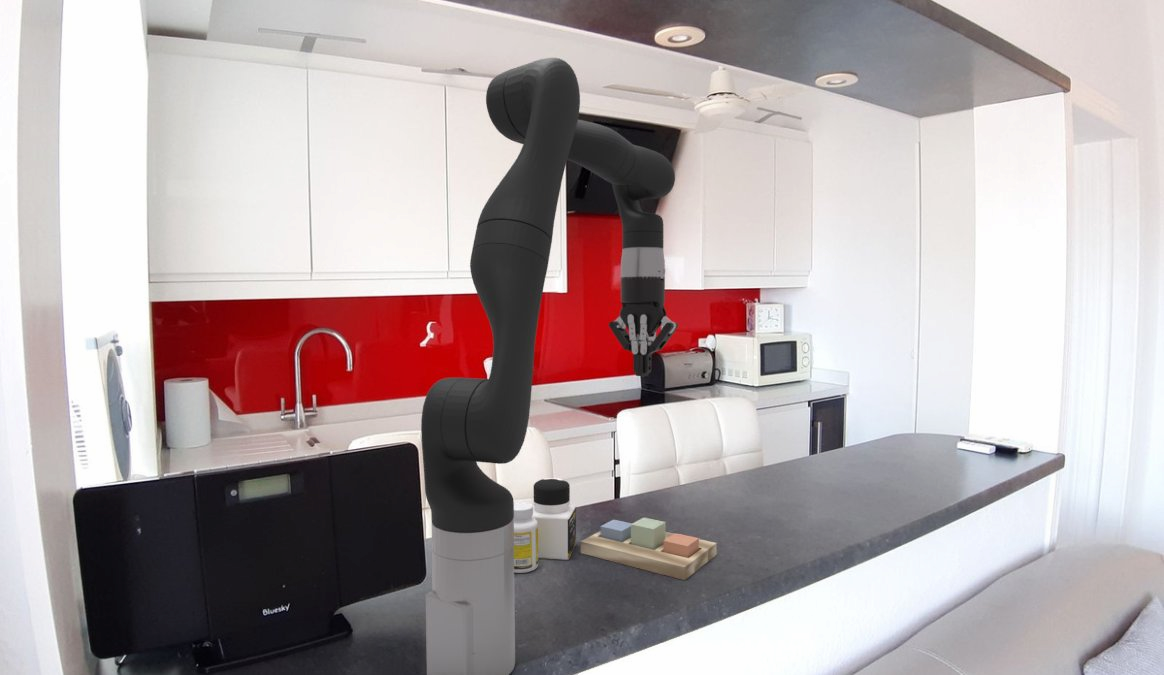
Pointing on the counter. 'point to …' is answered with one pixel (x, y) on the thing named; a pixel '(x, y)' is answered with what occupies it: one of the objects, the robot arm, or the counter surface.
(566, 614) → the counter surface
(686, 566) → the board
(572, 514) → the medicine bottle
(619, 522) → the slate button
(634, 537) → the sage button
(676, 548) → the terracotta button
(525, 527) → the supplement bottle
